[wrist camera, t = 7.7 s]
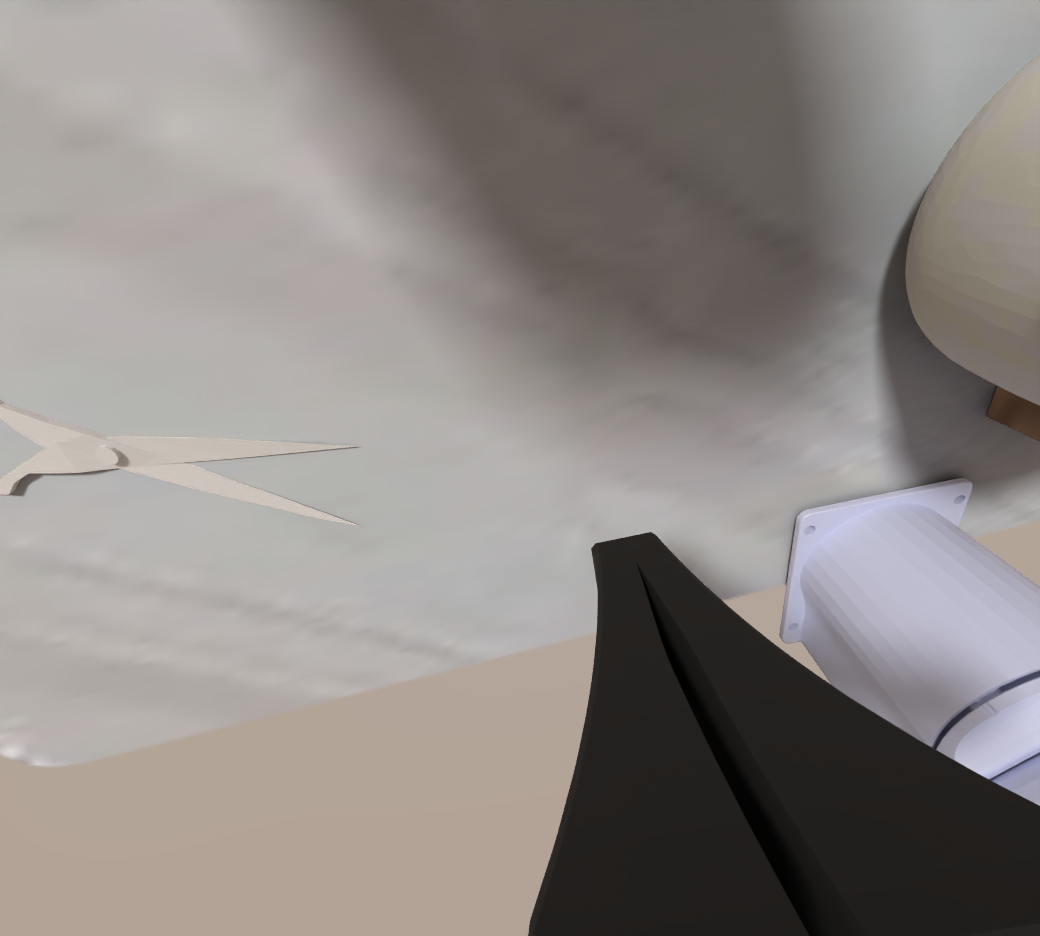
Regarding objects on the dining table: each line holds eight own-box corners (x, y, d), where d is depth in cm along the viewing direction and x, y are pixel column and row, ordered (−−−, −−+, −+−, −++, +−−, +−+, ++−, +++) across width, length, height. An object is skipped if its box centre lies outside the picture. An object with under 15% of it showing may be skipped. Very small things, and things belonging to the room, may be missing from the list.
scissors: (-357, 249, 14) (365, 371, 17) (-318, 246, 14) (370, 364, 18) (-165, 535, 19) (356, 585, 22) (-143, 523, 20) (359, 573, 23)
